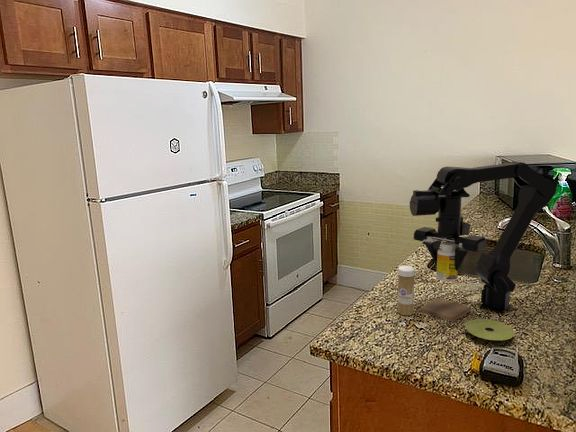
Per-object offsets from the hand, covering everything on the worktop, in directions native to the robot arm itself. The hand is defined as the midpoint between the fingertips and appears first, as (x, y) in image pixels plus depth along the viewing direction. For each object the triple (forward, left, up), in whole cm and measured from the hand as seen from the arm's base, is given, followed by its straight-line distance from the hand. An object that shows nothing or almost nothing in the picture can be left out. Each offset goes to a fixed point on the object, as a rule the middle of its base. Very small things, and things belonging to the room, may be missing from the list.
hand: (447, 268), depth 120 cm
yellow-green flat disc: (-15, +6, -13) cm, 21 cm away
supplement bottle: (0, 0, -3) cm, 3 cm away
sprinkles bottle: (+7, +9, -13) cm, 17 cm away
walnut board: (0, 0, -13) cm, 13 cm away
